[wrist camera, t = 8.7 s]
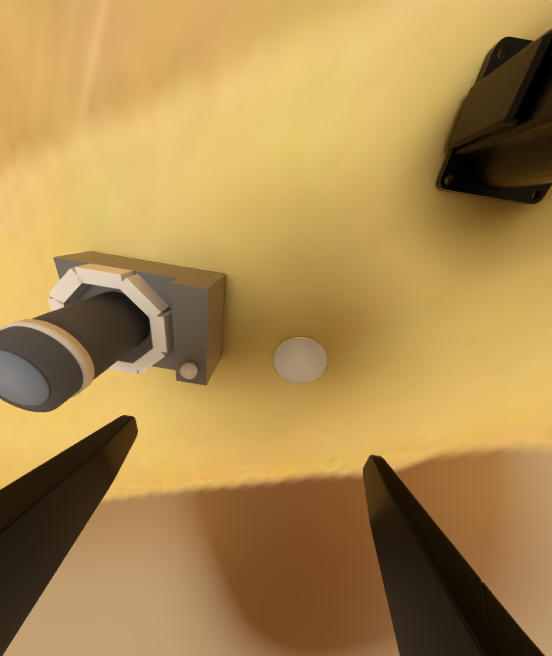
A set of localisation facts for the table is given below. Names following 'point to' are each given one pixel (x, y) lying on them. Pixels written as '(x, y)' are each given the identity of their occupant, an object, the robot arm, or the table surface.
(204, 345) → the camera body
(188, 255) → the table surface
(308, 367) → the pale white disc
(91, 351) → the lens
